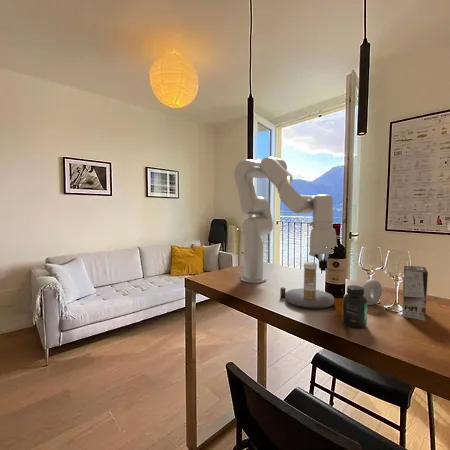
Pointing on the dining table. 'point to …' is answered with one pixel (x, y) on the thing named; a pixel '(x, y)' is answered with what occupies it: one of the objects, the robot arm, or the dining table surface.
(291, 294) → the turntable
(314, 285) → the sprinkles bottle
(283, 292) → the stop dowel
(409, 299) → the coffee box
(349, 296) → the supplement bottle
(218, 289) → the dining table surface
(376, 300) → the donut
